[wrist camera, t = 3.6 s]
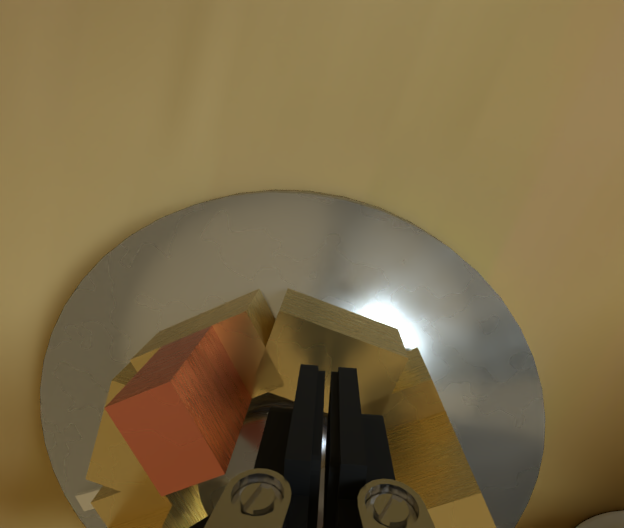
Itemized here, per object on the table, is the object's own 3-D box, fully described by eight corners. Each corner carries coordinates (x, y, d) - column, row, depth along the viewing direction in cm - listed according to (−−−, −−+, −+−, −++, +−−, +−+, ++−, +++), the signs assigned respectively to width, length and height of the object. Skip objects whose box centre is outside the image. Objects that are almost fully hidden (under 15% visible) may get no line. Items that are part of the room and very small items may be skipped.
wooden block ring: (371, 240, 15) (394, 290, 9) (493, 523, 18) (568, 697, 12) (65, 371, 17) (-72, 478, 11) (218, 605, 20) (171, 784, 14)
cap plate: (426, 93, 15) (457, 69, 11) (586, 531, 20) (648, 622, 16) (-28, 311, 18) (-125, 351, 15) (198, 640, 23) (170, 738, 19)
